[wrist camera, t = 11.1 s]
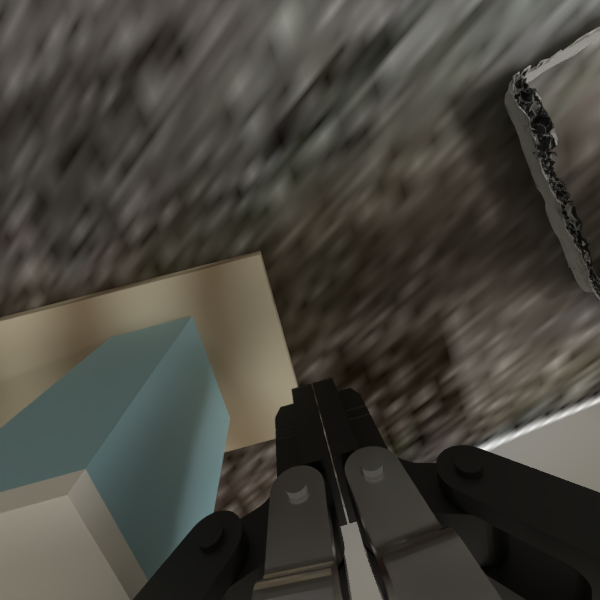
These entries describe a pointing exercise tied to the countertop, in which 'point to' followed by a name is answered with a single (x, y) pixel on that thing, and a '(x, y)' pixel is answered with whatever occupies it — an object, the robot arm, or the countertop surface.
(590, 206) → the countertop surface
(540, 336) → the countertop surface
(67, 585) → the block
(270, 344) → the board
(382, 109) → the countertop surface
